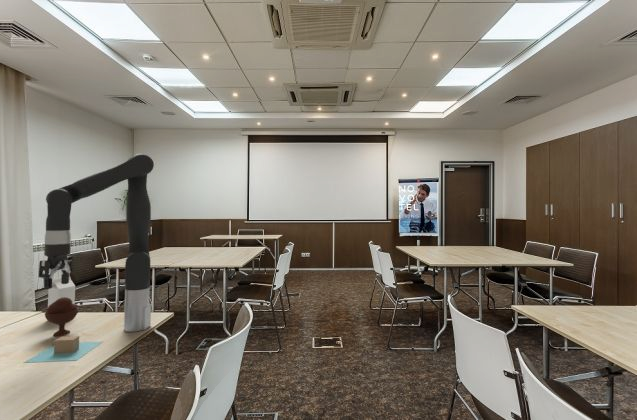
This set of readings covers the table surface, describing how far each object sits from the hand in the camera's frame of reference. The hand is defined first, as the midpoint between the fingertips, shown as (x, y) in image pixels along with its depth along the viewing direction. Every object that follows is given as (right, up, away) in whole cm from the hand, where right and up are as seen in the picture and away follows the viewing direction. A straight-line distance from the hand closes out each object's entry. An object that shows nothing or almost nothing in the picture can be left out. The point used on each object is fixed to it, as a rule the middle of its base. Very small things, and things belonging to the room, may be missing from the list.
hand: (56, 286), depth 116 cm
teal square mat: (+8, -23, -5) cm, 25 cm away
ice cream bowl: (-7, -22, +11) cm, 26 cm away
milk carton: (-23, -23, +29) cm, 44 cm away
